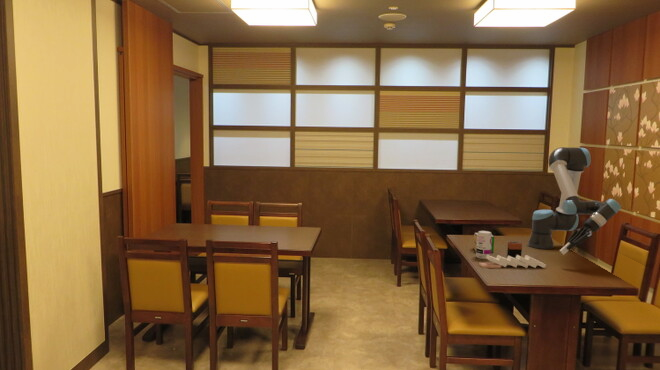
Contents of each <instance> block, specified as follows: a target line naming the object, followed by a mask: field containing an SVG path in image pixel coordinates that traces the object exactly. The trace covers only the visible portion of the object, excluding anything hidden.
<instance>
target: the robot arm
mask: <svg viewBox="0 0 660 370" xmlns="http://www.w3.org/2000/svg"><path fill="white" fill-rule="evenodd" d="M548 157H549V158H548V162H547V163H548V166H549V167H548V168H549V170H550V171H552V172H553V174H554V176H555V180H556V182H557V185H558V188H559V190H560V192H561V194H560V200H559V205H558V207H556V208H555V212H554V211H553V210H552V209H539V210H538V209H537V210H534V212H533V213H532V222H531V223H532V224H531V233H530V236H529V238H528V241H527V245H528V246H529V247H531V248H534V249H540V250H551V249H552V250H553V248H554V245H555V243H554V241H553V237H552V231H555V232H556V231H557V232H559V231H560V232H561V231H562V232H568V231H569V232H572V231H573V232H572V233H571V235H570V236H569V237H568V238H567V240H566V241H567V243H566V244H565V245H564V246H563V247H561V249H559V252H560V253H561V254H562V255H565V254H567V253H568V252H569V251H570V250H571V249H572V248H573V247H575V246H576V247H578V246H580V245H581V244H582V243H584V242H585V241H587V240H588V239H591V238H593V233H596V232H597V231H599V230H600V228H601V227H603V226H604V225H605V224H606V223H607V222H608V221H609V220H610V219H611V218H613V217H614V216H615V215H616V214H618V212H619V211H620V210H621V208H622V207H621V204H620V203H619V202H618V201H617V200H615V199H614V198H609V199H607V200H606V201H605V202H603V201H599V200H581V199H580V197H579V194H578V190H579V185H580V181H581V180H580V179H581V175H582V173H584V172H585V170H586V169H585V168H588V167H589V166H590V165H591V161H592V160H591V154H590V151H589V150H588V149H587V148H585V147H579V146H578V147H565V146H564V147H558V148H556V149H554V150H553V151H552V152H551V153H550V154H549V156H548ZM579 215H590V216H589V218H587V219H585V221H584V222H583V225H582V226H581V227H580V228H579V227H578V225H579V222H580V221H579Z"/></svg>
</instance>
